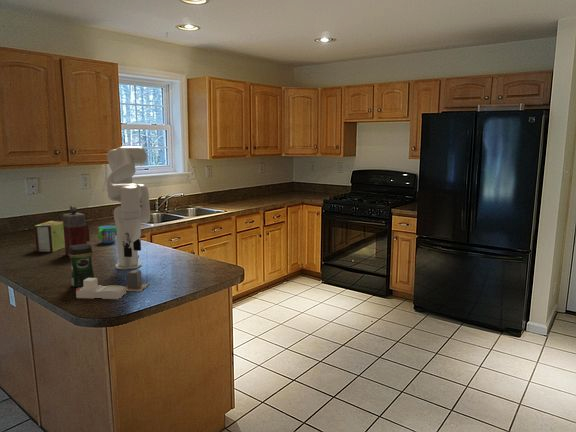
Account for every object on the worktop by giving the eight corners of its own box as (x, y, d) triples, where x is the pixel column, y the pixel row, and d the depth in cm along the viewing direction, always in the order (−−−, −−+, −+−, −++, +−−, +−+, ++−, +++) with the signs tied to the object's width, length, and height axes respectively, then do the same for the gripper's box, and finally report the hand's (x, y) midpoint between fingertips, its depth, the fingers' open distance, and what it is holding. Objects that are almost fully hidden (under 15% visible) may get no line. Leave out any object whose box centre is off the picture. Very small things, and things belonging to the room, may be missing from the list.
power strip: (75, 297, 181) (74, 281, 180) (84, 292, 188) (83, 276, 187) (119, 299, 180) (118, 282, 179) (126, 293, 187) (125, 277, 186)
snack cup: (111, 239, 288) (110, 224, 286) (123, 240, 284) (122, 225, 282) (92, 244, 274) (91, 228, 272) (105, 246, 270) (104, 229, 268)
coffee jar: (93, 280, 204) (90, 241, 201) (96, 285, 197) (93, 244, 194) (70, 284, 198) (66, 244, 195) (72, 289, 192) (69, 247, 189)
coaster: (129, 284, 198) (129, 283, 198) (148, 285, 197) (148, 284, 197) (120, 291, 189) (120, 290, 189) (140, 292, 189) (140, 290, 189)
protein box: (68, 246, 269) (66, 221, 266) (52, 252, 254) (50, 226, 251) (52, 245, 270) (50, 220, 267) (35, 251, 255) (33, 225, 252)
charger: (127, 288, 191) (126, 272, 190) (131, 285, 196) (131, 269, 194) (137, 288, 191) (136, 273, 190) (141, 285, 195) (141, 270, 194)
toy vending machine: (91, 254, 251) (88, 205, 246) (71, 257, 243) (67, 207, 238) (85, 251, 257) (82, 203, 252) (65, 254, 249) (61, 205, 244)
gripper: (130, 210, 197) (132, 247, 200) (113, 218, 180) (115, 259, 183) (147, 211, 196) (148, 248, 200) (131, 219, 179) (133, 259, 183)
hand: (132, 253), depth 191 cm, fingers open, 9 cm apart
